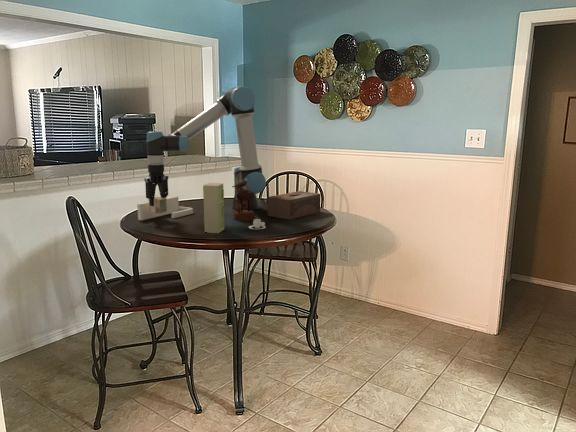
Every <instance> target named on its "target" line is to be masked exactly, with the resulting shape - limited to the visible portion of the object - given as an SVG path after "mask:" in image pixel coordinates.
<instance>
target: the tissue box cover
mask: <svg viewBox="0 0 576 432" xmlns="http://www.w3.org/2000/svg"><path fill="white" fill-rule="evenodd" d="M321 196H322V195H321V193H319V192H318V193H316V192H309V191H302V190H298V191H293V192H288V193H287V192H286V193H282V194H276V195H275V194H274V195H272V196H271V195H270V196H267V216H269V217H273V218H277V219H283V220H284V219H285V220H292V219H297V218H301V217H306V216H309V215H313V214H317V213H321Z"/></svg>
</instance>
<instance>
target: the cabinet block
mask: <svg viewBox="0 0 576 432" xmlns="http://www.w3.org/2000/svg"><path fill="white" fill-rule="evenodd" d="M166 198H167V197H166ZM166 198H163V197H161V196H155V197H154V199H156V213H158V214H160V213H165V212H167V199H166ZM148 202H149V212H151V206H150V199H148ZM152 213H153V212H152Z"/></svg>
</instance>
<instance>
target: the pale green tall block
mask: <svg viewBox="0 0 576 432" xmlns="http://www.w3.org/2000/svg"><path fill="white" fill-rule="evenodd" d="M202 189H203V191H202V194H203V220H204V221H203V222H204V223H203V225H204V230H203V231H204V233H205V232H207V233H208V234H219V233H221V232H223V230H225V201H224V198H225V194H224V193H225V192H224V191H225V190H224V183H222V182H208V183H206V184H205V183H204V184H203V186H202ZM207 233H206V234H207Z"/></svg>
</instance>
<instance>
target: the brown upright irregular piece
mask: <svg viewBox="0 0 576 432" xmlns="http://www.w3.org/2000/svg"><path fill="white" fill-rule="evenodd" d="M246 184H247V181H246V180H244V181H243V182H240V183H238V184H236V185H235V186H234V185H232V186H231V187H232V188H235V187H237V188H239V191H237V192H236V200H234V202H236V207H235V210H234V213H233V218H234V219H233V220H234V221H235V222H236V221H237V222H238V221H239V222H249V221H250V222H251V221H254V219H256V216H255V215H256V213H255V211H254V210H250V205H253V203H252V202H251V201H253V200H250V199H253V197H254V192H253V191H249V190H247V188H246V189H245V188H244V189H243V190H242V191H240V188H242V187H244V186H246V187H247V185H246ZM237 188H236V190H237ZM237 199H238V200H237ZM242 200H243V204H242ZM245 200H246V201H245ZM247 200H248V204H247ZM237 202H240V203H241V204H239V206H237ZM247 205H248V210H243V209H244V208H243V206H244V207H245V208H247ZM238 207H239V208H238Z"/></svg>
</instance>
